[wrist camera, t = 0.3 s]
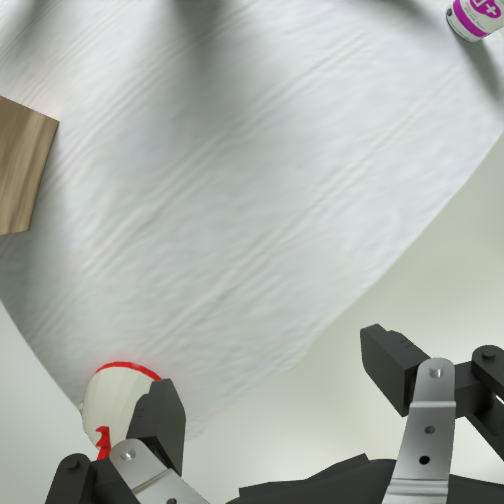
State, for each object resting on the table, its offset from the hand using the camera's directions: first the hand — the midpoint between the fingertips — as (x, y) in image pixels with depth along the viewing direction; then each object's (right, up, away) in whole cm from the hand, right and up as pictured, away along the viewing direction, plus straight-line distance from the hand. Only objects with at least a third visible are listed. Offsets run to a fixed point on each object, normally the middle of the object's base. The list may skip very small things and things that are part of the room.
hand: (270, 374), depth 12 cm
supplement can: (+37, +46, +24) cm, 64 cm away
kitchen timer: (-19, -17, +30) cm, 39 cm away
